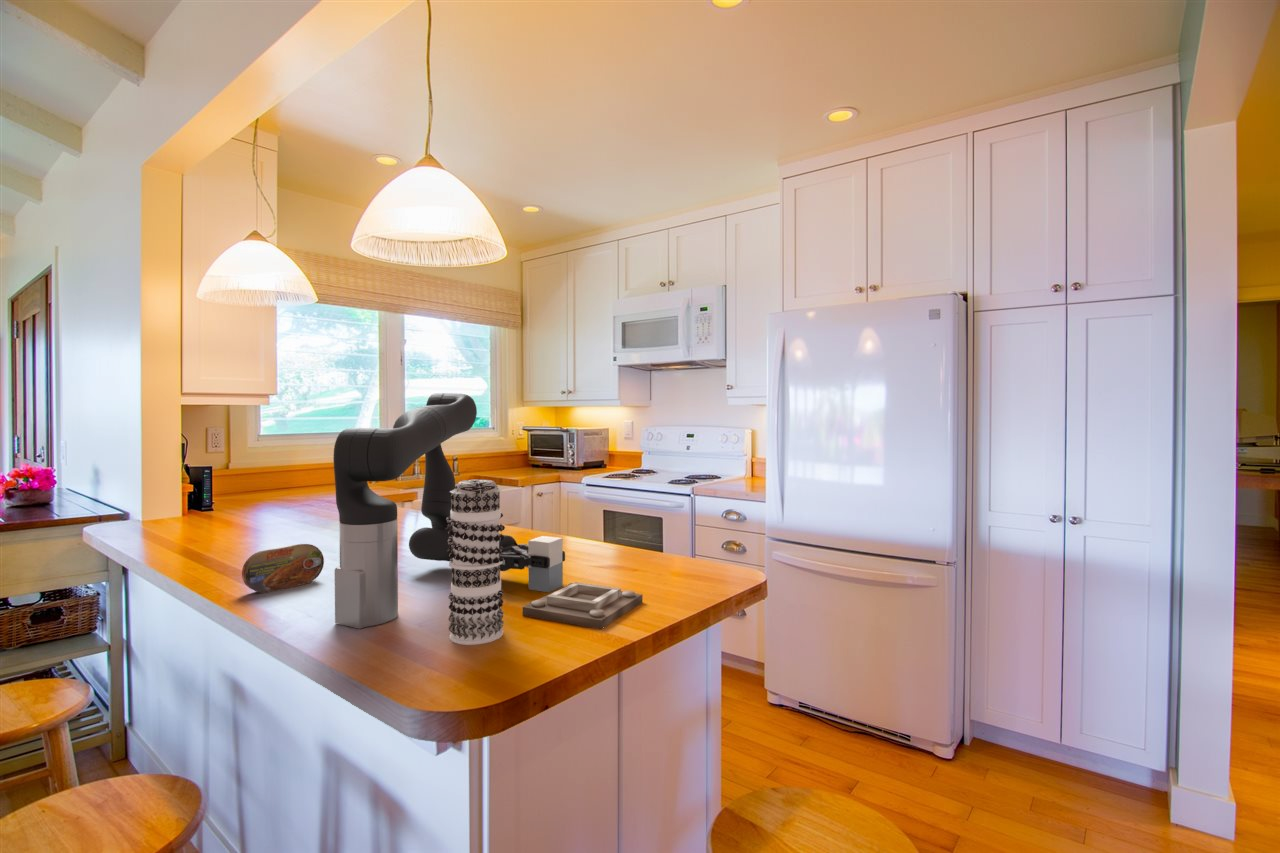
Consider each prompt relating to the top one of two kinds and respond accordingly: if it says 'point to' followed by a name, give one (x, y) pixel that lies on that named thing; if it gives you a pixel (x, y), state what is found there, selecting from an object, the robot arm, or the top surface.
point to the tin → (282, 567)
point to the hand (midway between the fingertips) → (556, 559)
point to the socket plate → (584, 605)
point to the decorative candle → (475, 563)
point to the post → (554, 574)
